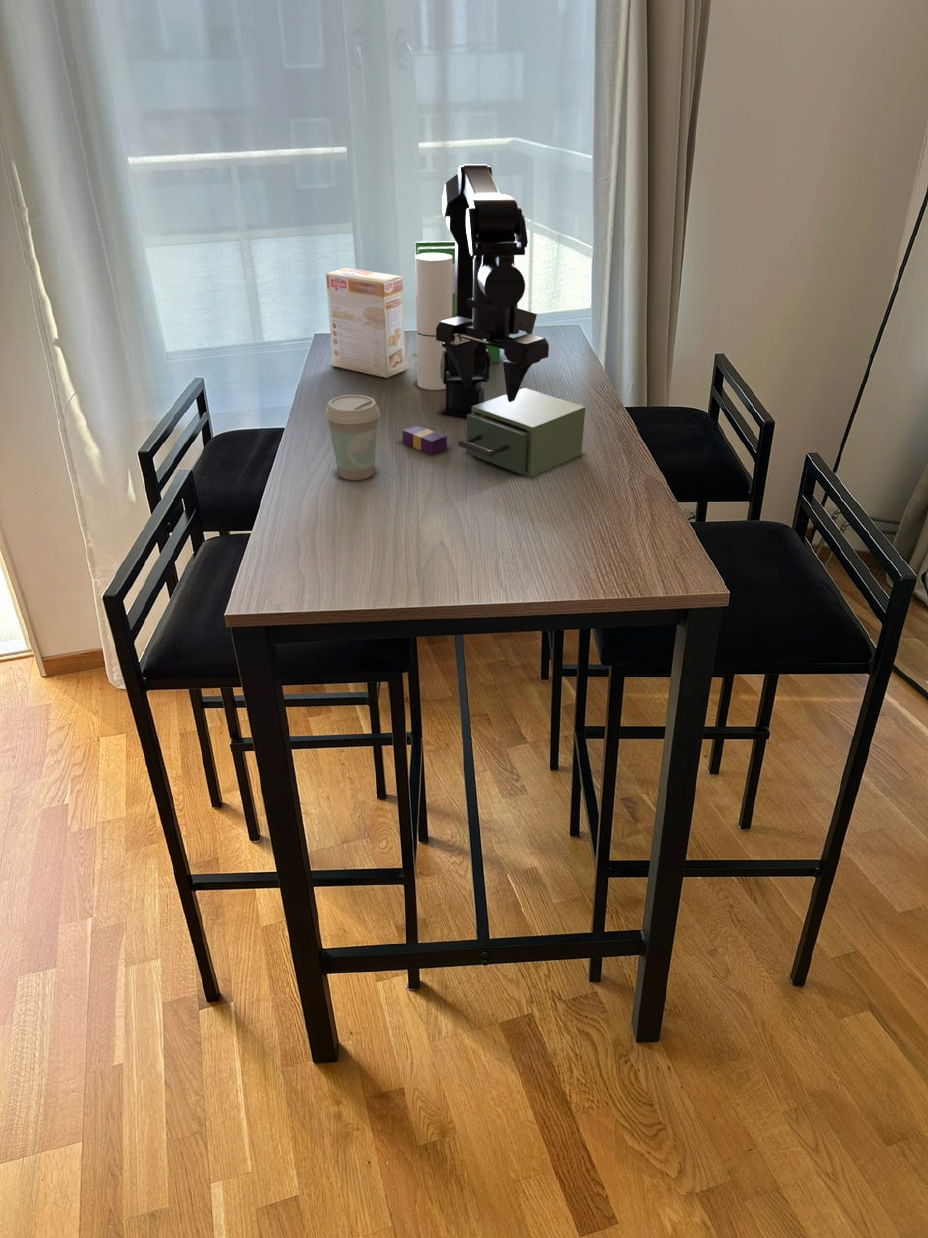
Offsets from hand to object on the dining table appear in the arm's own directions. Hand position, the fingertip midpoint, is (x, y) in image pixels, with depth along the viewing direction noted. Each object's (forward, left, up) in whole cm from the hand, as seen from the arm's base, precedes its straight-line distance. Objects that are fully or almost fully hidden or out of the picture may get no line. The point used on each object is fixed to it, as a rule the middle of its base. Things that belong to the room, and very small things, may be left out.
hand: (489, 394), depth 140 cm
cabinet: (+3, +10, -13) cm, 17 cm away
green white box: (-30, +54, -13) cm, 63 cm away
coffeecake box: (-45, +39, -13) cm, 61 cm away
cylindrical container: (-27, +36, -13) cm, 47 cm away
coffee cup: (-19, -10, -13) cm, 26 cm away
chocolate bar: (-14, +5, -13) cm, 20 cm away
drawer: (+2, +5, -12) cm, 13 cm away
